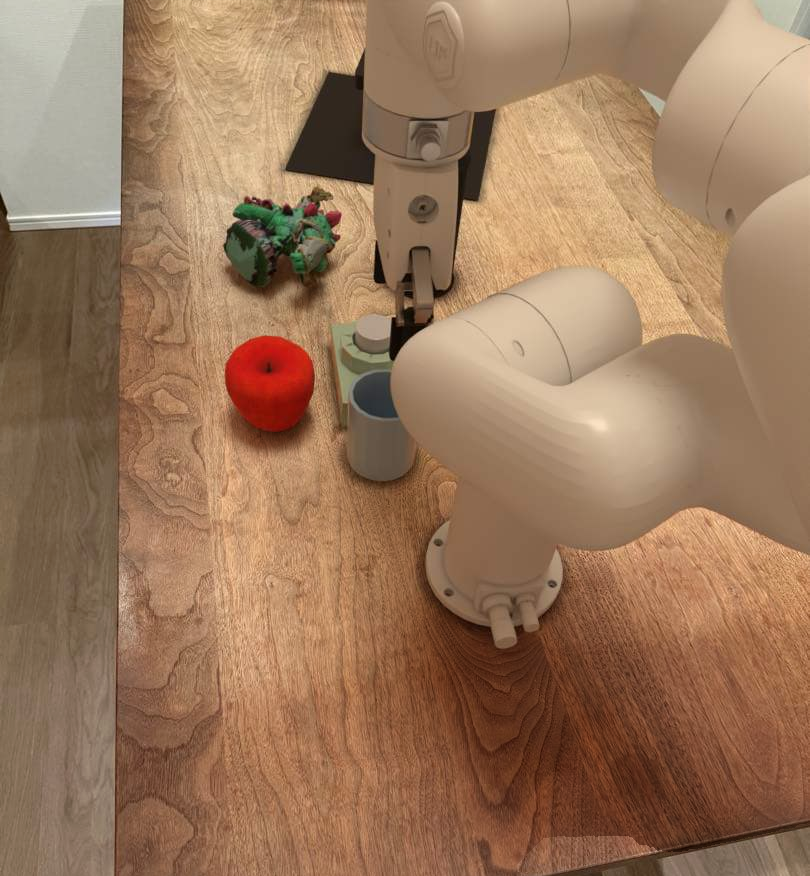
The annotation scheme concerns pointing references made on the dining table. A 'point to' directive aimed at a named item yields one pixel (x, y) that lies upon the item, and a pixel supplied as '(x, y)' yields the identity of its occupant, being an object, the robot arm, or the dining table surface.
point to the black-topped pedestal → (340, 135)
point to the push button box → (351, 363)
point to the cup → (377, 430)
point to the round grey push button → (373, 334)
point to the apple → (270, 382)
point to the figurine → (281, 237)
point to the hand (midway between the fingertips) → (399, 318)
